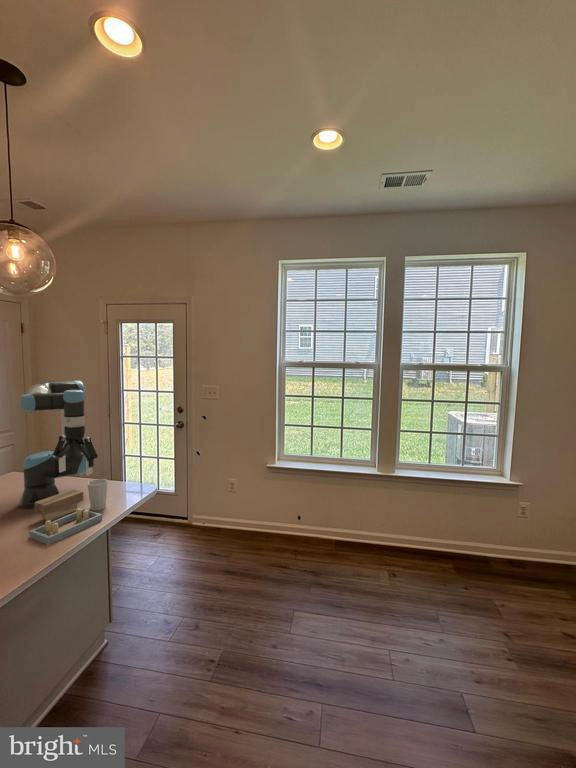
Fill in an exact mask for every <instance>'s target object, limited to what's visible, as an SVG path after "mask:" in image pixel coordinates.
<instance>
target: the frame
mask: <svg viewBox="0 0 576 768" xmlns="http://www.w3.org/2000/svg"><path fill="white" fill-rule="evenodd" d="M82 519H83V521H82ZM74 520H76V522H78V523H77V524H75V525H73V526H70V527H68V528H66V529H63V530H60V531H59V527H60V526H62V525H65V524H67V523H69V522H72V521H74ZM101 521H103V514H101V513H99V512H95V511H93V510H89V509H85V508H82V507H79V508H78V507H77V509H76V510H75V511H74V512H71V514H70V513H69V514H66V515H64V516H61V517H59V518H57V519H54V520H53V521H52V520H51V521H50V520H49V521H46V520H45V521H44V523H45V524H43V525H40V526H38V527H36V528H33V529H31V530H29V531H28V533H29V538H31V539H33V540H36V541H39V542H40V543H43V544H46V545H48V546H50V545H52V544H53V543H56V542H58V541H60V540H62V539H65V538H67V537H69V536H71V535H73V534H75V533H77V532H79V531H82V530H84V529H86V528H88V527H90V526H92V525H94V524H97V523H99V522H101ZM44 533H45V534H44ZM51 534H52V535H51Z"/></svg>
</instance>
